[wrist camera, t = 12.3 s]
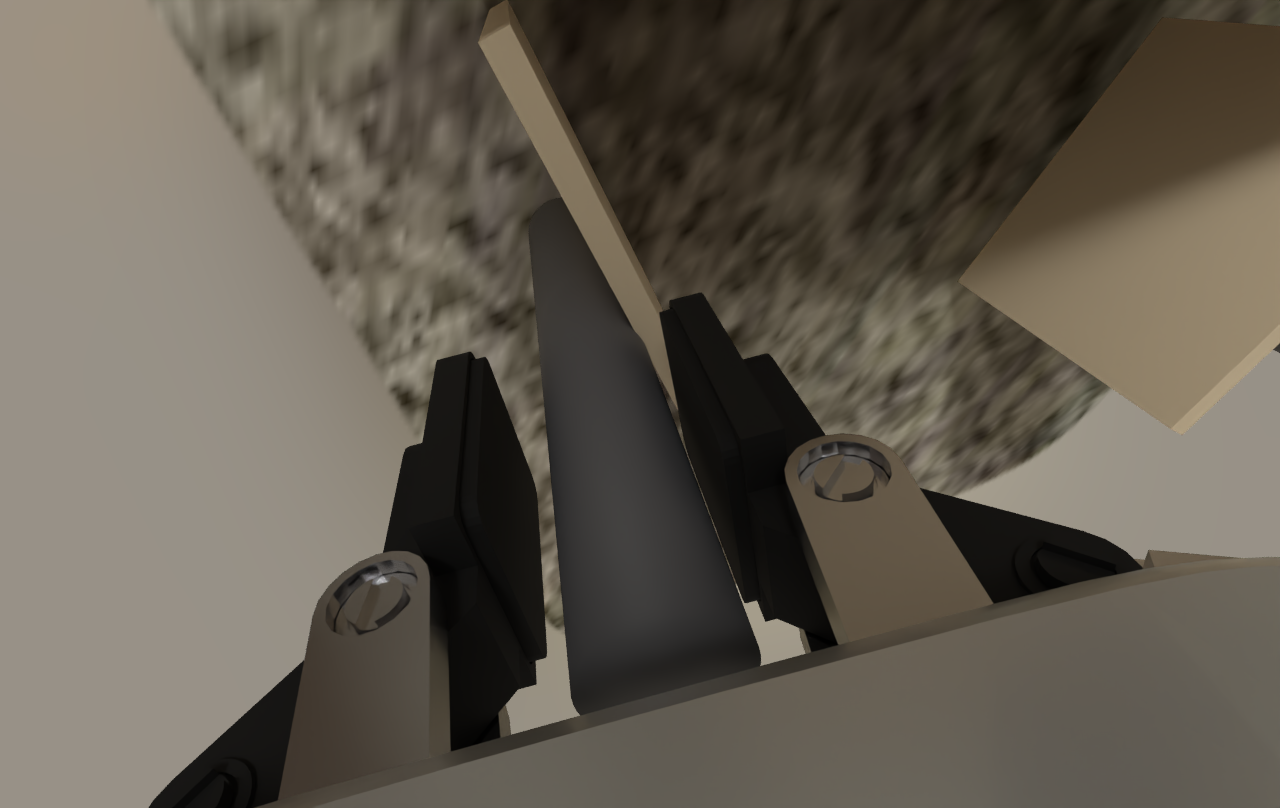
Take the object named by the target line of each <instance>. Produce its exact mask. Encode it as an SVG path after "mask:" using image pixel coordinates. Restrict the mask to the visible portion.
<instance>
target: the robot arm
mask: <svg viewBox="0 0 1280 808" xmlns="http://www.w3.org/2000/svg"><path fill="white" fill-rule="evenodd" d="M669 305H670V309H669V310H666V311H662V312H659V315H660V321H661V327H662V332H663V337H664V342H665V347H666V352H667V357H668V362H669V367H670V372H671V377H672V382H673V387H674V392H675V397H676V402H677V407H678V412H679V417H680V422H681V427H682V432H683V437H684V441H685V445H686V449H687V452H688V456H689V458H690V461H691V464H692V466H693V469H694V472H695V474H696V477H697V480H698V482H699V485H700V488H701V490H702V493H703V496H704V498H705V501H706V503H707V506H708V509H709V511H710V514H711V517H712V519H713V522H714V525H715V527H716V530H717V533H718V535H719V538H720V541H721V543H722V546H723V548H724V551H725V554H726V556H727V559H728V562H729V564H730V567H731V570H732V572H733V575H734V578H735V580H736V583H737V586H738V588H739V591H740V594H741V596H742V599H743V601H744V603H749V602H752V601H756V600H757V602H758V604H759V607H760V609H761V612H762V614H763V617H764V619H765V621H770V620H773V619H779V620H782V621H784V622H786V623H789V624H791V625H794V626H796V627H798V628H799V629H800V637H801V641H802V644H803V647H804V650H805V653H806V654H804V655H800V656H797V657H793V658H789V659H785V660H782V661H778V662H774V663H770V664H767V665H763V666H759V667H755V668H752V669H748V670H745V671H741V672H737V673H734V674H730V675H726V676H723V677H719V678H715V679H712V680H708V681H704V682H701V683H697V684H694V685H690V686H686V687H683V688H679V689H675V690H672V691H668V692H664V693H661V694H657V695H654V696H650V697H646V698H643V699H639V700H635V701H632V702H628V703H624V704H621V705H617V706H614V707H610V708H606V709H603V710H599V711H595V712H592V713H588V714H585V715H581V716H577V717H574V718H570V719H567V720H563V721H560V722H556V723H552V724H548V725H546V726H541V727H538V728H534V729H530V730H527V731H523V732H520V733H516V734H512V735H511V730H510V720H509V715H508V713H507V709H506V706H505V705H506V703H507V702H508V701H509V700H510V699H511V697H512V696H513V695H514V694H515V692H516V691H517V690H518V689H521V688H525V687H529V686H532V685H536V663H535V661H536V660H539V659H543V658H546V656H547V643H546V627H545V611H544V595H543V580H542V564H541V548H540V532H539V516H538V500H537V492H536V487H535V483H534V480H533V477H532V474H531V472H530V469H529V466H528V464H527V461H526V459H525V456H524V453H523V451H522V448H521V445H520V443H519V440H518V437H517V435H516V432H515V430H514V427H513V424H512V422H511V419H510V416H509V414H508V411H507V409H506V406H505V403H504V401H503V398H502V395H501V393H500V390H499V388H498V385H497V382H496V380H495V377H494V374H493V372H492V369H491V367H490V364H489V362H488V360H487V358H486V357H483V358H479V359H475V357H474V355H473V354H472V353H471V352H467V353H463V354H459V355H455V356H452V357H448V358H444V359H440V360H437V362H436V366H435V372H434V378H433V384H432V390H431V395H430V401H429V407H428V413H427V419H426V425H425V430H424V436H423V442H422V443H420V444H417V445H413V446H409V447H408V448H406V449H405V452H404V455H403V459H402V464H401V468H400V473H399V478H398V483H397V488H396V493H395V497H394V502H393V508H392V512H391V517H390V522H389V526H388V531H387V537H386V542H385V546H384V551H383V553H381V554H376V555H374V556H372V557H369V558H367V559H365V560H362V561H360V562H358V563H357V564H355V565H353V566H352V567H350V568H349V569H347V570H346V571H344V572H343V573H342V574H341V575H340V576H339V577H338V578H337V579H335V580H334V581H333V582H332V583H331V584H330V585H329V586H328V588H327V589H326V591H325V592H324V593H323V595H322V596H321V598H320V599H319V600H318V603H317V605H316V608H315V611H314V614H313V617H312V622H311V627H310V633H309V638H308V643H307V649H306V654H305V659H304V661H303V662H302V663H300V664H299V665H298V666H297V667H296V668H295V669H294V670H293V671H292V672H290V673H289V675H287V676H286V677H285V678H284V679H283V680H282V681H281V682H279V683H278V684H277V685H276V686H275V687H274V688H273V689H272V690H271V691H270V692H269V693H267V694H266V695H265V696H264V697H263V698H262V699H261V700H260V701H259V702H258V703H256V704H255V705H254V706H253V707H252V708H251V709H250V710H249V711H248V712H247V713H245V714H244V715H243V716H242V717H241V718H240V719H239V720H238V721H237V722H236V723H235V724H233V726H231V727H230V728H229V729H228V730H227V731H226V732H225V733H224V734H222V735H221V736H220V737H219V738H218V739H217V740H216V741H215V742H214V743H213V744H212V745H210V746H209V747H208V748H207V749H206V750H205V751H204V752H203V753H202V754H201V755H199V756H198V757H197V758H196V759H195V760H194V761H193V762H192V763H191V764H189V765H188V766H187V767H186V768H185V769H184V770H183V771H182V772H181V773H180V774H179V775H177V776H176V777H175V778H174V779H173V780H172V781H171V782H170V783H169V784H168V785H167V787H165V789H164V790H163V791H162V792H161V793H160V794H159V795H158V796H157V797H156V798H155V799H154V800H153V802H152V803H151V805H150V806H149V808H1280V557H1259V558H1234V557H1222V556H1211V555H1199V554H1188V553H1177V552H1165V551H1154V550H1148V553H1147V556H1146V558H1145V560H1140V559H1133V558H1132V557H1131V556H1130V555H1129V554H1128V553H1127V552H1126V551H1124V550H1123V549H1121V548H1119V547H1118V546H1116V545H1114V544H1112V543H1111V542H1109V541H1107V540H1106V539H1103V538H1101V537H1098V536H1095V535H1092V534H1090V533H1087V532H1084V531H1080V530H1077V529H1073V528H1069V527H1066V526H1062V525H1058V524H1054V523H1050V522H1046V521H1042V520H1039V519H1035V518H1031V517H1027V516H1023V515H1020V514H1016V513H1013V512H1009V511H1005V510H1001V509H997V508H994V507H990V506H986V505H982V504H978V503H975V502H971V501H967V500H963V499H959V498H956V497H952V496H948V495H944V494H941V493H937V492H933V491H929V490H925V489H922V488H919V486H918V485H917V483H916V482H915V480H914V478H913V477H912V475H911V474H910V472H909V471H908V469H907V467H906V466H905V464H904V463H903V461H902V460H901V458H900V457H899V456H898V455H897V454H896V453H895V452H894V451H893V450H892V449H891V448H890V447H888V446H887V445H885V444H883V443H881V442H880V441H878V440H875V439H872V438H868V437H865V436H862V435H853V434H834V435H825V434H824V432H823V431H822V429H821V428H820V426H819V425H818V423H817V422H816V420H815V419H814V418H813V416H812V415H811V413H810V412H809V410H808V409H807V407H806V406H805V404H804V403H803V402H802V400H801V399H800V397H799V396H798V394H797V393H796V391H795V390H794V388H793V387H792V386H791V384H790V383H789V381H788V380H787V378H786V377H785V375H784V374H783V372H782V371H781V370H780V368H779V367H778V365H777V364H776V362H775V361H774V359H773V358H772V357H771V356H770V355H769V354H762V355H759V356H755V357H751V358H747V359H742V357H741V356H740V354H739V352H738V351H737V349H736V347H735V346H734V344H733V342H732V341H731V339H730V337H729V336H728V334H727V333H726V331H725V329H724V328H723V326H722V324H721V323H720V321H719V319H718V318H717V316H716V314H715V313H714V311H713V310H712V308H711V306H710V305H709V303H708V301H707V300H706V298H705V296H704V295H703V294H702V292H701V293H697V294H693V295H689V296H686V297H682V298H678V299H674V300H670V301H669Z"/></svg>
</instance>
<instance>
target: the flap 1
mask: <svg viewBox="0 0 1280 808" xmlns="http://www.w3.org/2000/svg"><path fill="white" fill-rule="evenodd" d="M478 44H479V45H480V47H481V49H482V51H483V53H484V55H485V57H486V58H487V60H488V62H489V64H490V66H491V68H492V69H493V71H494V73H495V75H496V77H497V79H498V80H499V82H500V84H501V86H502V88H503V90H504V91H505V93H506V95H507V97H508V99H509V101H510V103H511V104H512V106H513V108H514V110H515V112H516V114H517V115H518V117H519V119H520V121H521V123H522V125H523V126H524V128H525V130H526V132H527V134H528V136H529V137H530V139H531V141H532V143H533V145H534V147H535V149H536V150H537V152H538V154H539V156H540V158H541V160H542V161H543V163H544V165H545V167H546V169H547V171H548V172H549V174H550V176H551V178H552V180H553V182H554V183H555V185H556V187H557V189H558V191H559V193H560V195H561V196H562V197H561V198H555V199H552V200H550V201H548V202H546V203H544V204H543V205H542V206H540V207H539V208H538V209H537V210H536V212H535V213H534V215H533V217H532V219H531V221H530V225H529V244H530V255H531V266H532V277H533V288H534V299H535V309H536V320H537V331H538V342H539V353H540V364H541V375H542V386H543V397H544V407H545V418H546V429H547V440H548V451H549V462H550V473H551V484H552V495H553V505H554V516H555V527H556V538H557V549H558V560H559V571H560V582H561V593H562V604H563V614H564V625H565V636H566V647H567V657H568V668H569V679H570V690H571V699H572V702H573V705H574V707H575V709H576V711H577V712H578V713H579V714H580V716H581V715H585V714H588V713H592V712H595V711H599V710H603V709H606V708H610V707H614V706H617V705H621V704H624V703H628V702H632V701H635V700H639V699H643V698H646V697H650V696H654V695H657V694H661V693H664V692H668V691H672V690H675V689H679V688H683V687H686V686H690V685H694V684H697V683H701V682H704V681H708V680H712V679H715V678H719V677H723V676H726V675H730V674H734V673H737V672H741V671H745V670H748V669H752V668H755V667H759V666H760V665H761V654H760V650H759V646H758V644H757V641H756V638H755V636H754V633H753V630H752V628H751V625H750V622H749V620H748V617H747V614H746V612H745V609H744V606H743V604H742V601H741V599H740V596H739V593H738V590H737V588H736V585H735V582H734V580H733V577H732V574H731V572H730V569H729V566H728V564H727V561H726V558H725V556H724V553H723V550H722V548H721V545H720V542H719V540H718V537H717V534H716V532H715V529H714V526H713V524H712V521H711V518H710V516H709V513H708V510H707V508H706V505H705V502H704V500H703V497H702V494H701V492H700V489H699V486H698V484H697V481H696V478H695V476H694V473H693V470H692V467H691V465H690V462H689V459H688V457H687V454H686V451H685V449H684V446H683V443H682V441H681V438H680V435H679V433H678V430H677V427H676V425H675V422H674V419H673V417H672V414H671V411H670V409H669V406H668V403H667V401H666V398H665V395H664V393H663V390H662V387H661V385H660V382H659V379H658V377H657V374H656V371H657V373H658V375H659V377H660V379H661V380H662V382H663V384H664V386H665V388H666V390H667V391H668V393H669V395H670V397H671V399H672V401H673V402H674V404H675V406H676V408H677V410H678V407H677V402H676V397H675V392H674V387H673V382H672V377H671V372H670V367H669V362H668V357H667V352H666V347H665V342H664V337H663V332H662V327H661V321H660V315H659V312H662V311H663V310H662V308H661V305H660V303H659V301H658V299H657V297H656V295H655V292H654V290H653V288H652V287H651V285H650V283H649V281H648V279H647V277H646V275H645V273H644V271H643V269H642V267H641V265H640V263H639V261H638V259H637V257H636V255H635V253H634V251H633V249H632V247H631V245H630V243H629V241H628V239H627V237H626V235H625V233H624V231H623V229H622V227H621V225H620V223H619V221H618V219H617V217H616V215H615V213H614V211H613V209H612V207H611V205H610V203H609V201H608V199H607V197H606V195H605V193H604V191H603V189H602V187H601V185H600V183H599V181H598V179H597V177H596V175H595V173H594V171H593V169H592V167H591V165H590V163H589V161H588V159H587V157H586V155H585V153H584V151H583V149H582V147H581V145H580V143H579V141H578V139H577V137H576V135H575V133H574V131H573V129H572V127H571V125H570V123H569V121H568V119H567V117H566V115H565V113H564V111H563V109H562V107H561V105H560V103H559V101H558V99H557V97H556V95H555V93H554V91H553V89H552V87H551V85H550V83H549V81H548V79H547V77H546V75H545V73H544V71H543V69H542V67H541V65H540V63H539V61H538V59H537V57H536V55H535V53H534V51H533V49H532V47H531V45H530V43H529V41H528V39H527V37H526V35H525V33H524V31H523V29H522V27H521V25H520V23H519V21H518V19H517V17H516V15H515V13H514V11H513V9H512V7H511V5H510V3H509V1H508V0H505V1H503V2H501V3H499V4H498V5H496V6H494V7H493V8H491V9H490V10H489V13H488V16H487V18H486V21H485V24H484V27H483V30H482V33H481V36H480V39H479V42H478ZM654 367H655V369H656V371H655V369H654Z"/></svg>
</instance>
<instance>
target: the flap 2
mask: <svg viewBox="0 0 1280 808" xmlns="http://www.w3.org/2000/svg"><path fill="white" fill-rule="evenodd" d="M957 282H959V283H960V284H962V285H963V286H965V287H966V288H968V289H969V290H970V291H972V292H973V293H975V294H976V295H978V296H979V297H981V298H982V299H983V300H985V301H986V302H988V303H989V304H991V305H992V306H994V307H995V308H996V309H998V310H999V311H1001V312H1002V313H1004V314H1005V315H1007V316H1008V317H1009V318H1011V319H1012V320H1014V321H1015V322H1017V323H1018V324H1020V325H1021V326H1022V327H1024V328H1025V329H1027V330H1028V331H1030V332H1031V333H1032V334H1034V335H1035V336H1037V337H1038V338H1040V339H1041V340H1043V341H1044V342H1045V343H1047V344H1048V345H1050V346H1051V347H1053V348H1054V349H1056V350H1057V351H1058V352H1060V353H1061V354H1063V355H1064V356H1066V357H1067V358H1069V359H1070V360H1071V361H1073V362H1074V363H1076V364H1077V365H1079V366H1080V367H1082V368H1083V369H1084V370H1086V371H1087V372H1089V373H1090V374H1092V375H1093V376H1095V377H1096V378H1097V379H1099V380H1100V381H1102V382H1103V383H1105V384H1106V385H1108V386H1109V387H1110V388H1112V389H1113V390H1115V391H1116V392H1118V393H1119V394H1121V395H1122V396H1124V397H1125V398H1126V399H1128V400H1129V401H1131V402H1132V403H1134V404H1135V405H1136V406H1138V407H1139V408H1141V409H1142V410H1144V411H1145V412H1147V413H1148V414H1149V415H1151V416H1152V417H1154V418H1155V419H1157V420H1158V421H1160V422H1161V423H1162V424H1164V425H1165V426H1167V427H1168V428H1170V429H1171V430H1173V431H1175V432H1177V433H1179V434H1181V435H1183V434H1184V433H1185V432H1186V431H1187V430H1188V429H1190V428H1191V427H1192V426H1193V425H1194V424H1195V423H1196V422H1197V421H1198V420H1199V419H1200V418H1201V417H1202V416H1203V415H1204V414H1205V413H1206V412H1207V411H1209V410H1210V409H1211V408H1212V407H1213V406H1214V405H1215V404H1216V403H1217V402H1218V401H1219V400H1220V399H1221V398H1222V397H1223V396H1224V395H1225V394H1227V393H1228V391H1230V390H1231V389H1232V388H1233V387H1234V386H1235V385H1236V384H1237V383H1238V382H1239V381H1240V380H1241V379H1242V378H1243V377H1245V376H1246V375H1247V374H1248V373H1249V372H1250V371H1251V370H1252V369H1253V368H1254V367H1255V366H1256V365H1257V364H1258V363H1259V362H1260V361H1261V360H1262V359H1264V358H1265V357H1266V356H1267V355H1268V354H1269V353H1270V352H1271V351H1272V350H1275V351H1277V352H1279V353H1280V26H1269V25H1256V24H1243V23H1230V22H1217V21H1203V20H1190V19H1177V18H1164V17H1162V19H1161V20H1160V21H1159V22H1158V24H1157V25H1156V26H1155V28H1154V29H1153V30H1152V31H1151V33H1150V34H1149V35H1148V37H1147V38H1146V39H1145V40H1144V42H1143V43H1142V44H1141V46H1140V47H1139V48H1138V49H1137V51H1136V52H1135V53H1134V55H1133V56H1132V57H1131V58H1130V60H1129V61H1128V62H1127V64H1126V65H1125V66H1124V68H1123V69H1122V70H1121V71H1120V73H1119V74H1118V75H1117V77H1116V78H1115V79H1114V80H1113V82H1112V83H1111V84H1110V86H1109V87H1108V88H1107V89H1106V91H1105V92H1104V93H1103V95H1102V96H1101V97H1100V98H1099V100H1098V101H1097V102H1096V104H1095V105H1094V106H1093V107H1092V109H1091V110H1090V111H1089V113H1088V114H1087V115H1086V116H1085V118H1084V119H1083V120H1082V122H1081V123H1080V124H1079V125H1078V127H1077V128H1076V129H1075V131H1074V132H1073V133H1072V135H1071V136H1070V137H1069V138H1068V140H1067V141H1066V142H1065V144H1064V145H1063V146H1062V147H1061V149H1060V150H1059V151H1058V153H1057V154H1056V155H1055V156H1054V158H1053V159H1052V160H1051V162H1050V163H1049V164H1048V165H1047V167H1046V168H1045V169H1044V171H1043V172H1042V173H1041V174H1040V176H1039V177H1038V178H1037V180H1036V181H1035V182H1034V183H1033V185H1032V186H1031V187H1030V189H1029V190H1028V191H1027V192H1026V194H1025V195H1024V196H1023V198H1022V199H1021V200H1020V202H1019V203H1018V204H1017V205H1016V207H1015V208H1014V209H1013V211H1012V212H1011V213H1010V214H1009V216H1008V217H1007V218H1006V220H1005V221H1004V222H1003V223H1002V225H1001V226H1000V227H999V229H998V230H997V231H996V232H995V234H994V235H993V236H992V238H991V239H990V240H989V241H988V243H987V244H986V245H985V247H984V248H983V249H982V250H981V252H980V253H979V254H978V256H977V257H976V258H975V259H974V261H973V262H972V263H971V265H970V266H969V267H968V269H967V270H966V271H965V272H964V274H963V275H962V276H961V278H960V279H959V280H958V281H957Z"/></svg>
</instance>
